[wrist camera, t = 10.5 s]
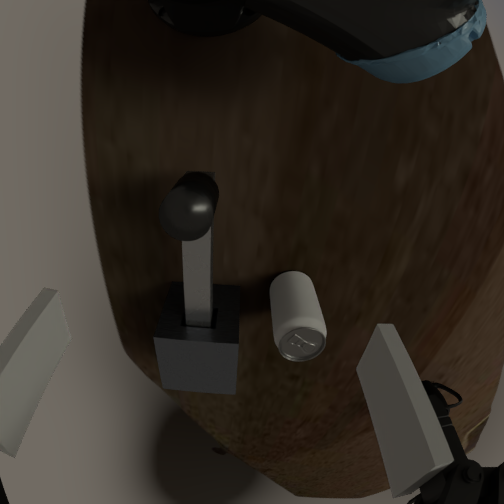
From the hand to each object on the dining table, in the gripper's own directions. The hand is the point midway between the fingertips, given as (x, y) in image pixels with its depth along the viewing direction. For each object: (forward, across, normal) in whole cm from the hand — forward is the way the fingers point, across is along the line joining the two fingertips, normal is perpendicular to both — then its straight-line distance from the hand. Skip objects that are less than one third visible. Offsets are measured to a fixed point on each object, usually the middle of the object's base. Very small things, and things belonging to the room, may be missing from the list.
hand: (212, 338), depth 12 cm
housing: (+29, -2, -22) cm, 37 cm away
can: (+29, +10, -17) cm, 35 cm away
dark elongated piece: (+23, -3, -12) cm, 26 cm away
